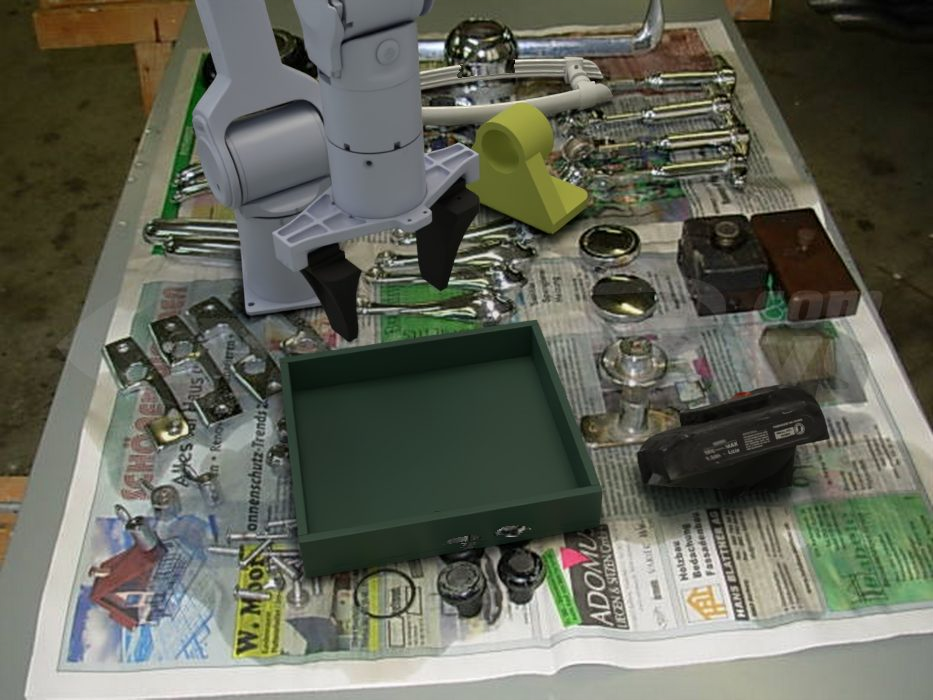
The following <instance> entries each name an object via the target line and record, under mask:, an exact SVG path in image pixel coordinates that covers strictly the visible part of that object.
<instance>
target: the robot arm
mask: <svg viewBox="0 0 933 700" xmlns="http://www.w3.org/2000/svg"><path fill="white" fill-rule="evenodd" d="M435 1H436V0H292V2H293V5H294V8H295V11H296V14H297V16H298V19H299V22H300V26H301V30H302V36H303V42H304V48H305V50H306V53H307V57H308V59H309V61H311V63H313V64H314V65H315V66H316V69H317V78H318V81H317V80H316V79H315V78H314V77H312V76H311V75H309V74H307V73H305V72H302V71H301V70H299V69H296V68H293V67H291V66H289V65H286V64H284V63H282V59H281V56H280V52H279V49H278V44H277V41H276V38H275V34H274V31H273V27H272V23H271V20H270V16H269V13H268V8H267V6H266V1H265V0H194V3H195V6H196V9H197V13H198V16H199V19H200V23H201V26H202V29H203V31H204V34H205V38H206V41H207V45H208V48H209V52H210V55H211V59H212V61H213V65H214V68H215V69H214V70H215V71H216V76H215V77H214V80H213V81H212V82H211V84H210V85H209V86H208V88H207V90H206V91H205V92H204V93H203V95H202V97H200V98H199V100H198V101H197V104H196V105H195V107H194V109H193V111H192V112H191V115H192V119H191V122H192V126H193V129H194V130H193V131H194V133H195V137H196V143H197V145H196V146H197V154H198V159H199V163H200V166H201V169H202V172H203V174H204V177H205V180H206V182H207V185H208V186H209V189H210V191H211V193H212V194H213V196H214V197H215V200H217V202H218V203H219V204H221V205H222V206H223V207H226V208H227V209H229V210H231V211H232V210H233V213H234V214H233V215H234V218H235V223H236V228H237V233H238V238H239V243H240V256H241V268H242V283H243V294H244V308H245V313H246V315H248V316H258V315H265V314H271V313H279V312H285V311H286V312H287V311H292V310H300V309H307V308H314V307H320V306H321V307H322V309H323V311H324V313H325V315H326V318H327V320H328V323H329V326H330V329H331V330H332V331H334V333H335V334H337V335H338V336H340V337H341V338H342V339H343V340H344V341H346V342H347V343H351V342H353V341H354V340H356V339H358V337H359V328H360V327H359V318H358V309H357V295H358V287H359V283H360V278H361V275H362V272H363V270H362V269H361V268H359V267H358V266H357V265H356V264H354V263H353V262H352V261H350V260H349V259H348V258H346V251H345V250H342V249H341V248H340V247H341V246H340V243H341V242H345V241H349V240H350V241H351V240H353V239H357V238H358V239H359V238H361V237H365V236H370V235H374V234H378V233H382V232H387V231H390V230H394V229H400V230H401V231H402V232H405V233H408V234H409V233H410V234H412V233H414V232H415V243H416V255H417V263H418V270H419V273H420V277H421V279H422V280H423V281H425V282H427V283H428V284H429V285H431V286H432V287H433V288H435V289H436V290H438V291H439V292H442V291H444V290H445V289H447V288H448V286H449V284H450V280H451V275H452V271H453V269H454V264H455V261H456V258H457V255H458V252H459V249H460V246H461V244H462V241H463V239H464V237H465V235H466V233H467V231H468V229H469V228H470V226H471V224H473V223H472V222H473V221H474V220H475V218H476V217H477V215H479V213H480V211H481V203H480V199H479V196H478V195H477V194H475V193H474V192H472V191H471V190H469V189H467V188H466V184H470V183H472V182H474V181H476V180H478V179H479V178H480V177H479V154H478V153H476V152H475V151H473V150H471V148H470V147H468V146H466V145H464V144H463V143H461V142H457V143H455V144H452V145H449V146H447V147H444V148H441V149H436V150H433V151H429V152H425V138H424V137H425V136H424V125H423V118H422V107H423V103H422V90H421V84H420V72H421V69H420V49H419V34H418V22H416V21H415V20H417V19H418V18H419V17H424V16H427V15H428V14H429V13H430V12H431V11H432V9H433V8H434V4H435ZM292 101H293V102H292ZM289 102H291V103H289ZM286 103H288V104H286ZM283 104H284V105H283ZM280 105H281V106H280ZM277 106H278V107H277ZM270 108H272V109H270ZM267 109H268V110H267ZM263 110H265V111H263ZM260 111H262V112H260ZM256 112H258V113H256ZM254 113H255V114H254ZM250 114H252V115H250ZM247 115H249V116H247ZM244 116H245V117H244ZM238 118H239V119H238Z"/></svg>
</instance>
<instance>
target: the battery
mask: <svg viewBox="0 0 933 700" xmlns="http://www.w3.org/2000/svg"><path fill="white" fill-rule="evenodd" d="M678 413H679V423H680V426H677V427H673V428H669V429H666V430H663V431H659V432H657V433H655V434H653V435H651V436H650V437H647V439H645V441H643V443H642V445H641V446H640V448H639V450H638V451H637V452H636V459H637V464H638V468H639V473H640V476H641V480H642V484H643V485H647V486H648V485H650V486H659V487H671V488H692V489H693V488H694V489H712V490H713V489H715V490H720V492H721V494H722V495H723V497H724V498H725V500H726V501H730V500H731V501H732V499H735V498H740V497H742V496H745V495H751V494H755V493H763V492H766V491H768V492H771V493H776V492H780V490H783V489H788V488H793V481H794V479H793V478H794V468H795V460H796V459H795V458H796V451H797V447H798V446H803V445H808V444H813V443H818V442H823V441H826V440H827V441H828V440H830V433H829V430H828V424H827V421H826V418H825V415H824V412H823V410H822V408H821V406H820V404H819V402H818V401H817V399H816V397H815V396H814V395H813V394H812V393H811V392H809V391H807V390H806V389H804V388H802V387H800V386H797V385H790V384H783V383H780V384H773V385H769V386H762V387H757V388H753V389H752V390H749V391H743V390H741V391H738V392H736V393H735V394H734V395H733V396H732V397H730V398H728V399H724V400H721V401H718V402H713V403H710V404H707V405H703V406H699V407H696V408H689V409H685V410H683V411H681V412H678Z"/></svg>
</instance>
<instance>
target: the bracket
mask: <svg viewBox="0 0 933 700" xmlns="http://www.w3.org/2000/svg"><path fill="white" fill-rule="evenodd" d="M554 144H555V137H554V131H553V128H552V125H551V124H550V122H549V120H548V119H547V117H546V115H543V113H542V112H541V111H539V110H538V109H537V108H536V107H534V106H532V105H530V104H527V103H515V104H513V105H511V106H510V107H508V108H507V109H505V110H504V111H502V112H501V113H499V114H498V115H496V116H495V117H493V118H492V119H490V120H489V121H487V122H486V123H483V124H481V125H480V126H479V127H478V129H477V131H476V134H475V140H474V142H473V144H472V146H471V148H470V149H471V150H473V151H475V152H476V153H478V154H479V177H480V178H479V179H478V180H476V181H474V182H472V183H470V184H466V188H467V189H469V190H471V191H472V192H474V193H475V194H477V195H478V196H479V199H480V205H482V206H485V207H488V208H490V209H492V210H495V211H497V212H499V213H502V214H503V215H505V216H508V217H510V218H512V219H515V220H517V221H519V222H522V223H524V224H526V225H529V226H531V227H532V228H535V229H537V230H540V231H542V232H544V233H546V234H549V235H550V234H552V235H553V234H555V233H556V232H557V231H559V230H560V229H561V228H563V227H564V226H565V225H566V224H568V223H569V222H570V221H572V220H573V219H574V218H575V217H576V216H577V215H579V214H580V213H581V212H583V211H584V210H585V209H586V208H587V207H588V200H589V199H588V198H589V197H588V195H589V194H588V192H587V190H586V189H584V188H583V187H580V186H577V185H575V184H573V183H571V182H568V181H566V180H563V179H562V178H561V179H560V178H558V177H555V176H554V175H551V174H550V172H549V170H548V167H547V165H546V162H545V159H547V158H548V157H549V156H550V155H551V154H552V151H553V149H554Z"/></svg>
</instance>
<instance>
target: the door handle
mask: <svg viewBox="0 0 933 700" xmlns="http://www.w3.org/2000/svg"><path fill="white" fill-rule="evenodd" d="M514 60H515V64H514V68H515V73H502V74H490V75H486V76H483V75H479V76H470V77H462V78H458V77H457V74H458V73H459V72H460V71H459V69H461V66H460V65H461V64H457V65H450V66H443V67H438V68H433V69H428V70H422V71H421V70H420V84H421V91H423V90H427V89H433V88H439V87H445V86H450V85H458V84H463V83H472V82H481V81H489V80H491V81H492V80H501V79H519V78H520V79H521V78H563V80H564V82H565V84H566V85H567V84H569V85H570V87H571V89H572V90H569V91H565V92H561V93H556V94H555V93H554V94H550V95H545V96H540V97H534V98H528V99H521V100H513V101H506V102H497V103H487V104H474V105H455V106H449V105H448V106H422V118H423V126H427V127H428V126H433V127H434V126H435V127H436V126H438V127H439V126H463V125H464V126H465V125H483V124H484V123H486V122H487V121H489V120H490V119H492V118H493V117H495V116H496V115H498V114H499V113H501V112H502V111H504V110H505V109H507V108H508V107H510V106H511V105H513V104H515V103H527V104H530V105H532V106H534V107H536V108H537V109H538V110H539V111H541V112H542V113H543V115H544V116H548V115H553V114H557V113H563V112H567V111H571V110H575V109H577V112H580V111H583V110H586V109H591V108H593V107H595V106H596V105H597V103H602V102H604V101H607V100H610V99H612V98H614V95H613V93H612V91H611V90H610V88H609V87H608V86H607V85H606V84H603V83H596V82H595V81H594V80H595V79H598V80H603V79H604V76H603V74H602V72H601V69H600V68H599V66H598V65H597V63H595V62H594V61H592V60H590V59H584V57H582V56H581V57H580V56H579V57H578V56H564V57H563V58H523V59H522V58H521V59H519V58H518V59H514ZM590 79H594V80H593V81H591V80H590Z"/></svg>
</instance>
